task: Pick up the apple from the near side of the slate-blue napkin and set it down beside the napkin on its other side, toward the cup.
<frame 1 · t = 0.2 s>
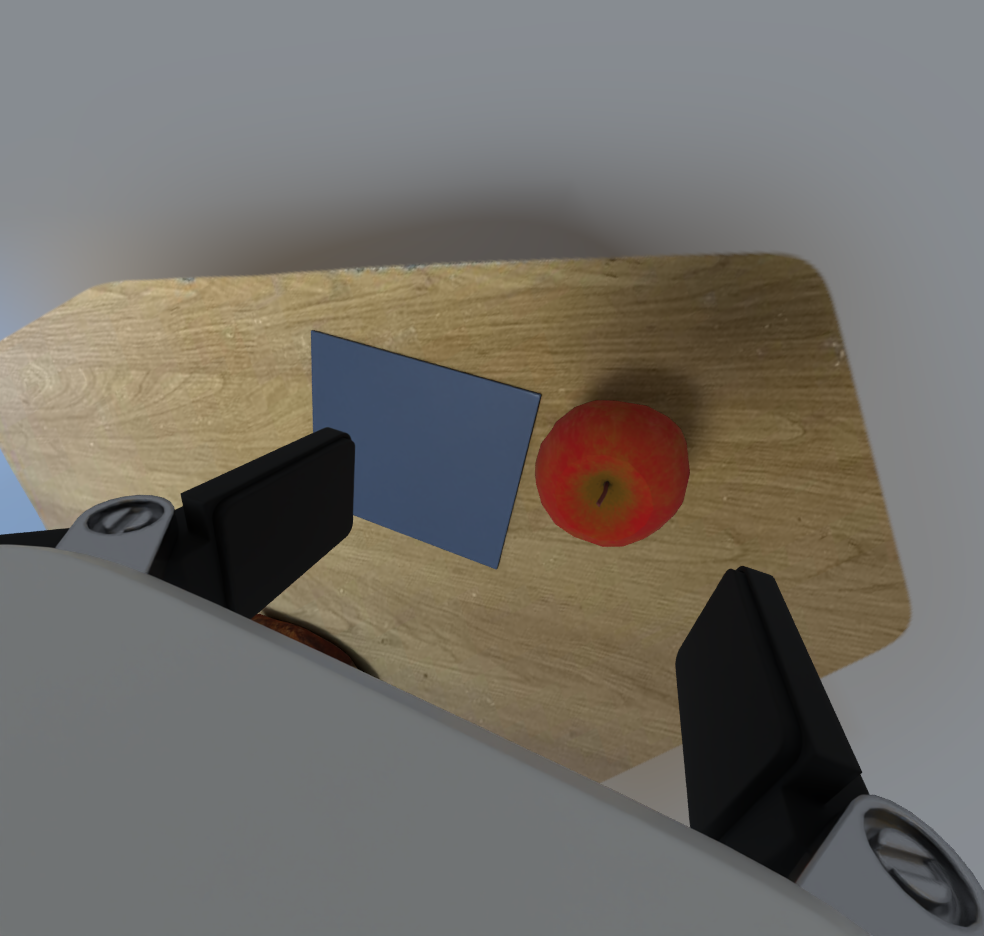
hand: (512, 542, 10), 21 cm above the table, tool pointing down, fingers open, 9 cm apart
apple: (615, 435, 30), on the table
napkin: (410, 455, 36), on the table
bread: (320, 677, 56), on the table
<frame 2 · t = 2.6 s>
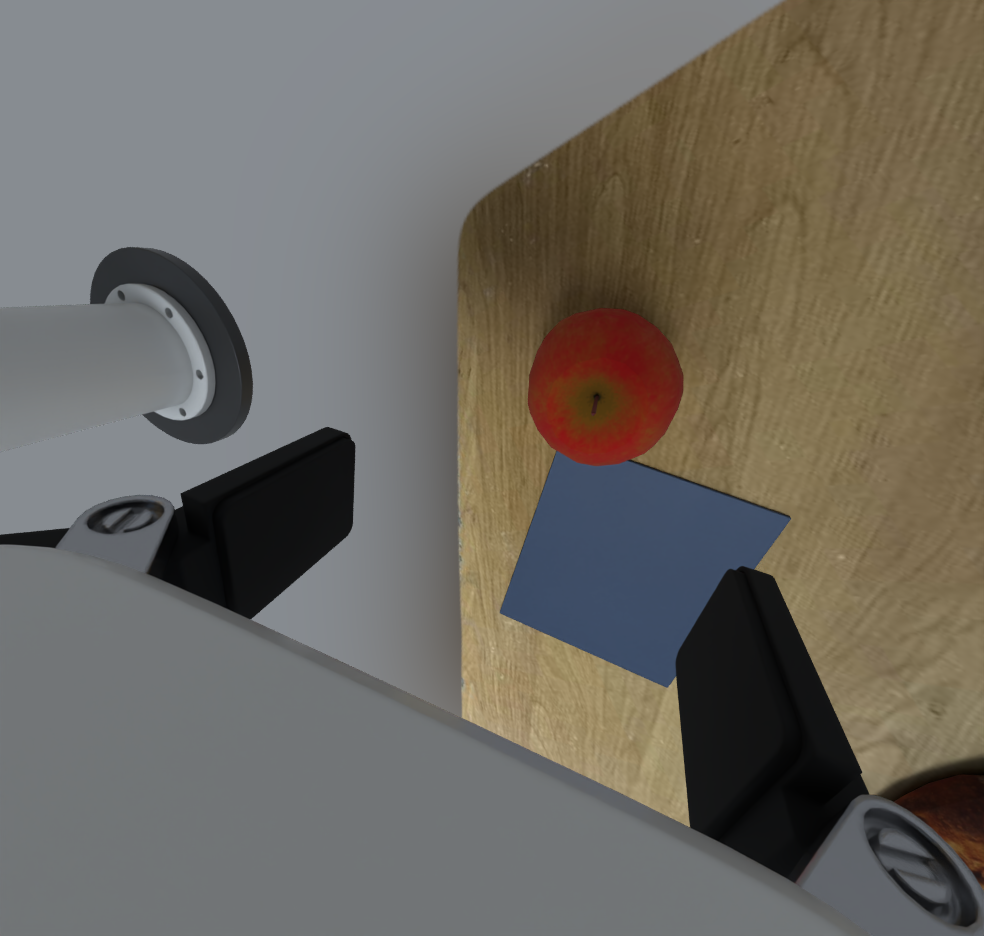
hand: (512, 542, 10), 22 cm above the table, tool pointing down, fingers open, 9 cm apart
apple: (609, 367, 29), on the table
napkin: (619, 572, 35), on the table
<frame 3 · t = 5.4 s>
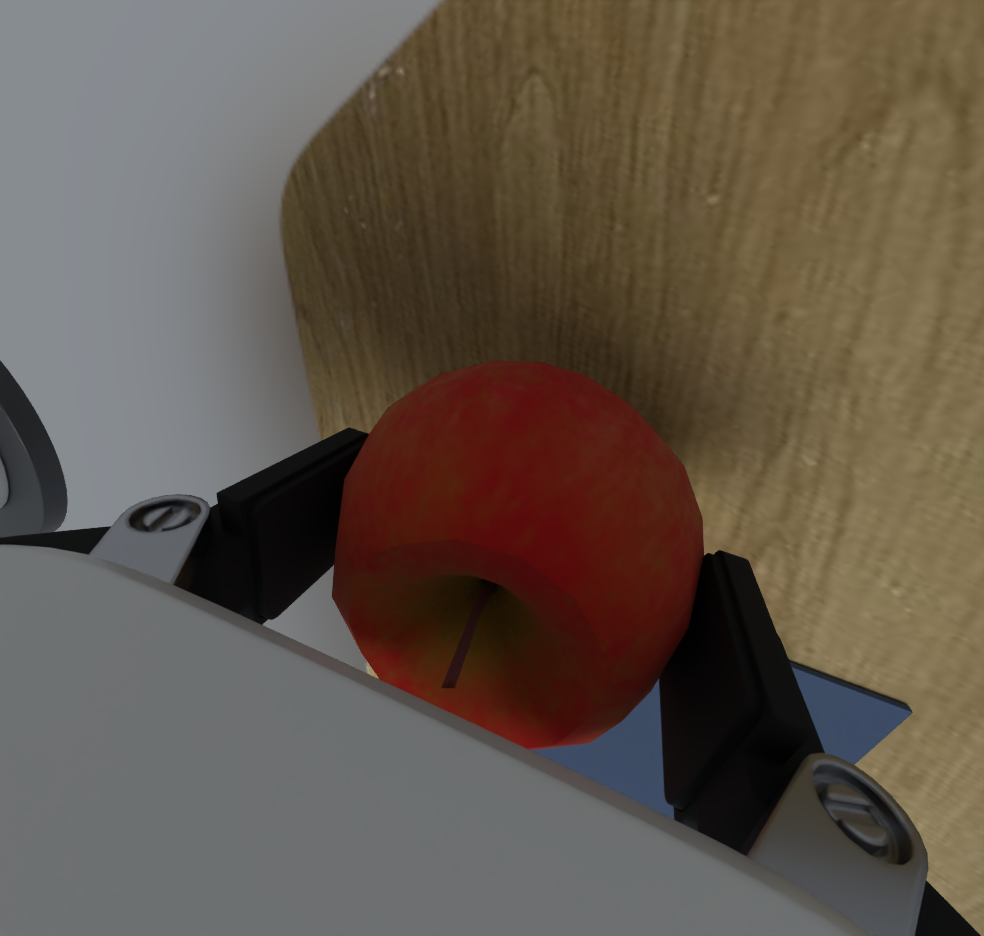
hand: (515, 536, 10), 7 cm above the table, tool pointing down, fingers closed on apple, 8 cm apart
apple: (560, 444, 16), on the table, touching gripper
napkin: (606, 750, 22), on the table
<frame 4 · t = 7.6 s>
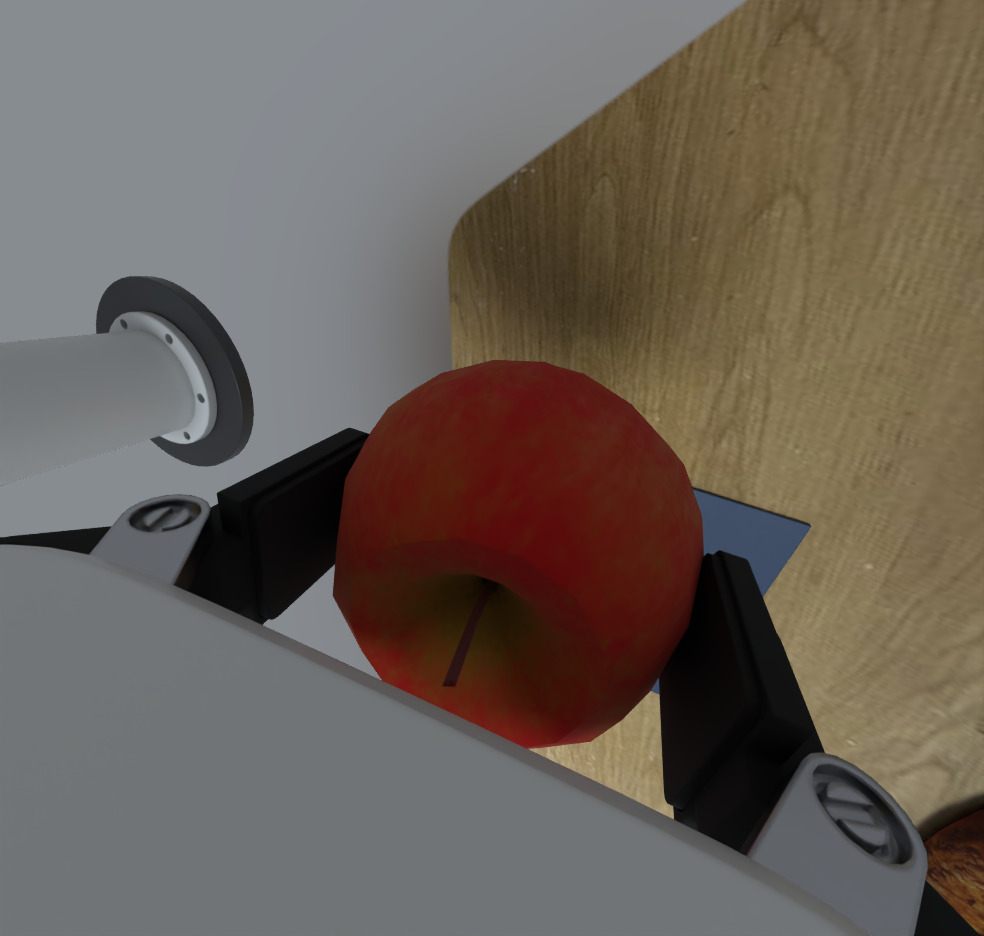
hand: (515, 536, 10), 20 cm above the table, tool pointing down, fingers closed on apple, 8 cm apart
apple: (560, 444, 16), point 14 cm above the table, touching gripper
napkin: (630, 586, 34), on the table
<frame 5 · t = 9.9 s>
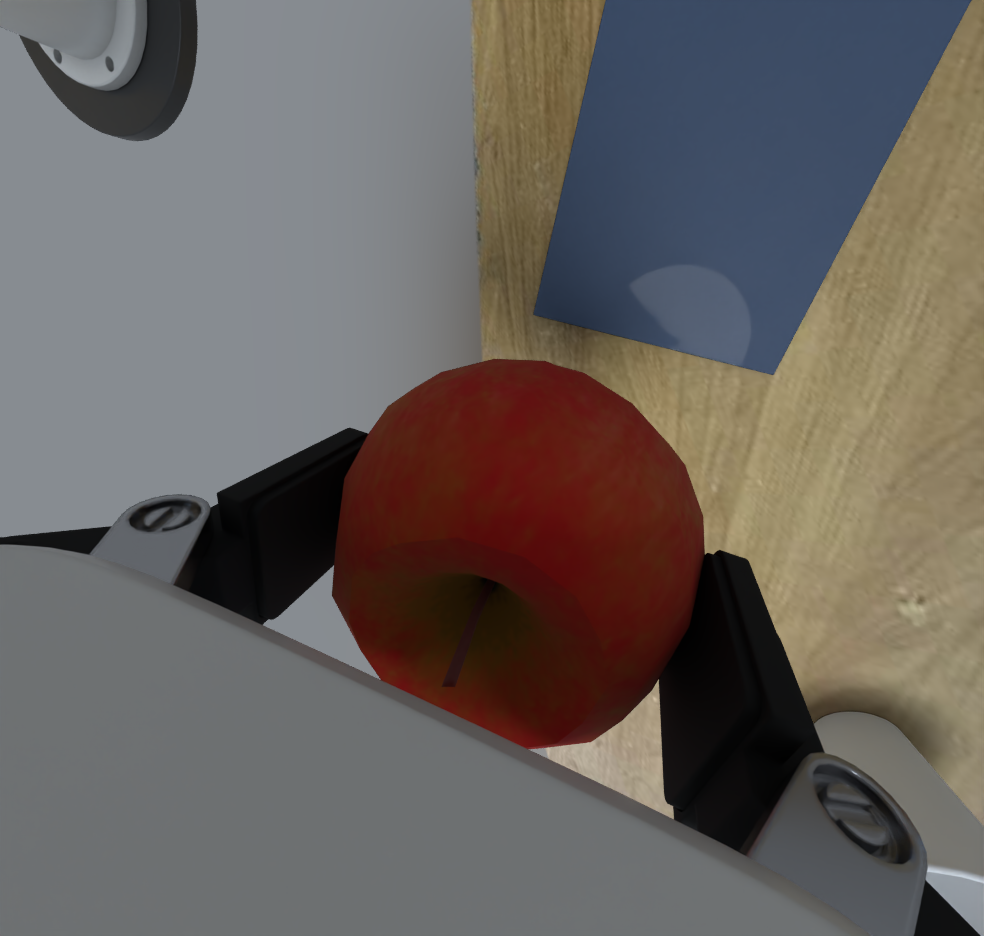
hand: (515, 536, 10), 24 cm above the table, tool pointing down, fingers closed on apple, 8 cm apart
apple: (560, 443, 16), point 17 cm above the table, touching gripper
cup: (855, 736, 37), on the table
napkin: (707, 176, 25), on the table
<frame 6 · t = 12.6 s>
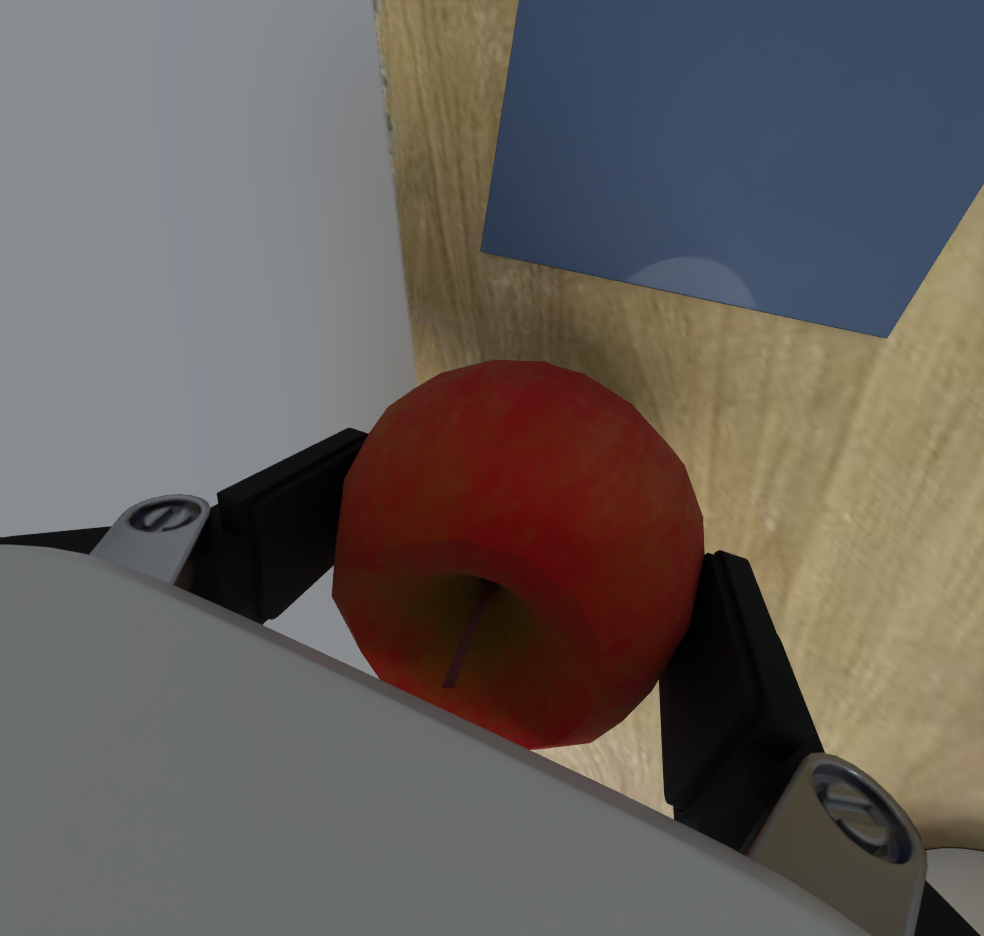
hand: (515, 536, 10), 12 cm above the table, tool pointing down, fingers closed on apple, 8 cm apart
apple: (560, 444, 16), point 6 cm above the table, touching gripper
cup: (969, 880, 25), on the table
when the fingers open (7 cm above the table, at t = 14.7 s): apple stays where it is, on the table.
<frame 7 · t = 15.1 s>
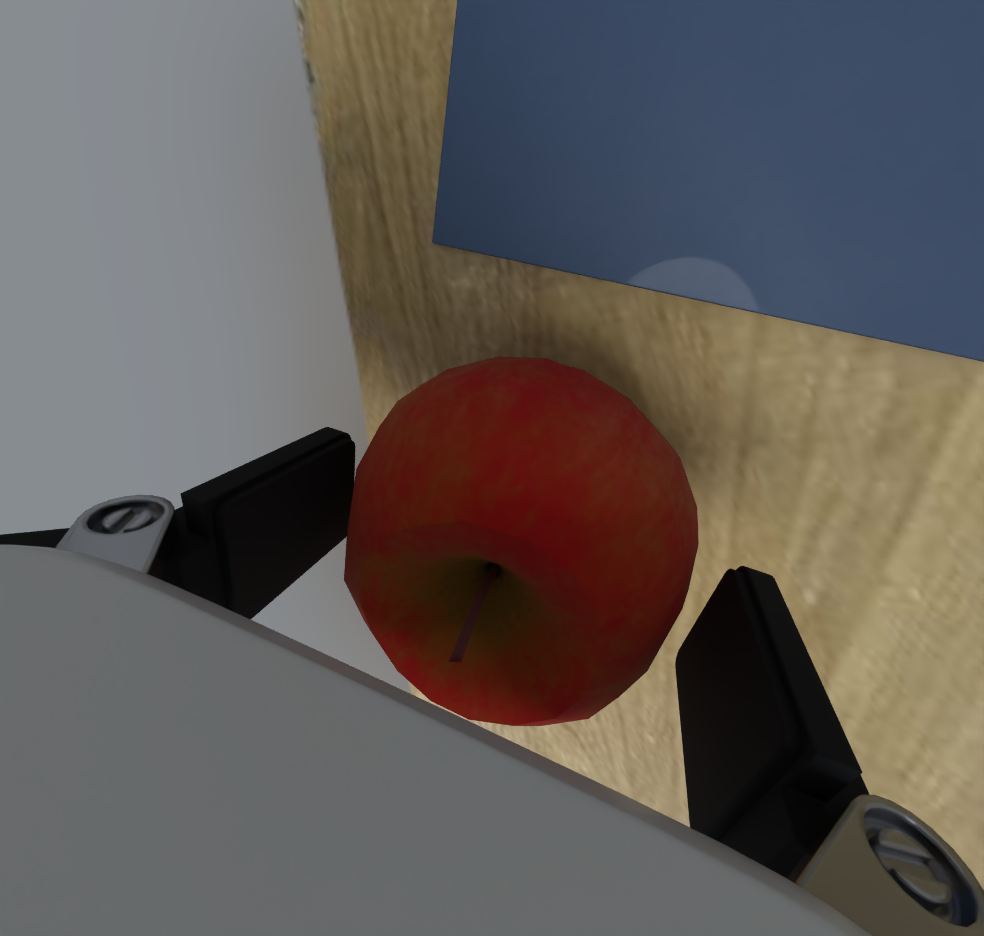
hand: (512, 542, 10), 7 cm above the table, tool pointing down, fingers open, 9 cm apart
apple: (561, 440, 16), on the table
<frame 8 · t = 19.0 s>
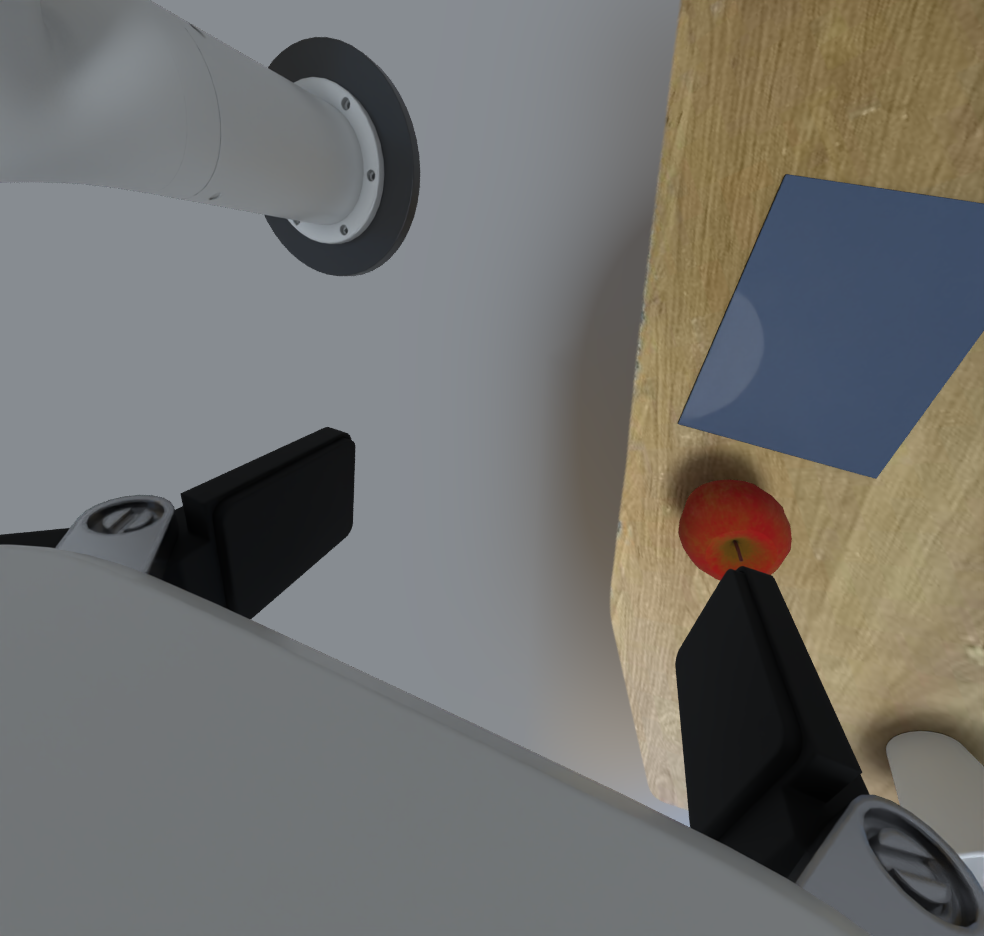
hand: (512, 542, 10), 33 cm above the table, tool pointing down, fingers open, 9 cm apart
apple: (718, 494, 41), on the table
cup: (924, 751, 45), on the table
napkin: (833, 339, 33), on the table
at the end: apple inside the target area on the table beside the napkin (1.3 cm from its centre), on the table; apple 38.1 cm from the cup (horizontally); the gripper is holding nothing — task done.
